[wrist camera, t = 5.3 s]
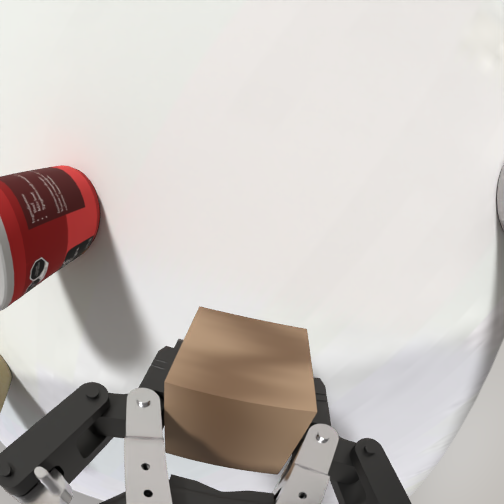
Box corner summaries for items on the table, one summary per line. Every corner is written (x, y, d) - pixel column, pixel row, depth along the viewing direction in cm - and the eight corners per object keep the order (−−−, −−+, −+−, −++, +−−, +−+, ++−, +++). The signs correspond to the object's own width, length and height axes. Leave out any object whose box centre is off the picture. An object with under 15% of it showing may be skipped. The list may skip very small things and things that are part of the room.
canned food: (45, 252, 22) (-36, 304, 12) (36, 168, 20) (-59, 192, 9) (108, 257, 22) (23, 326, 12) (100, 160, 19) (-8, 179, 9)
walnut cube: (306, 329, 13) (317, 411, 8) (279, 399, 15) (277, 474, 10) (199, 306, 13) (164, 381, 8) (190, 380, 15) (165, 452, 10)
